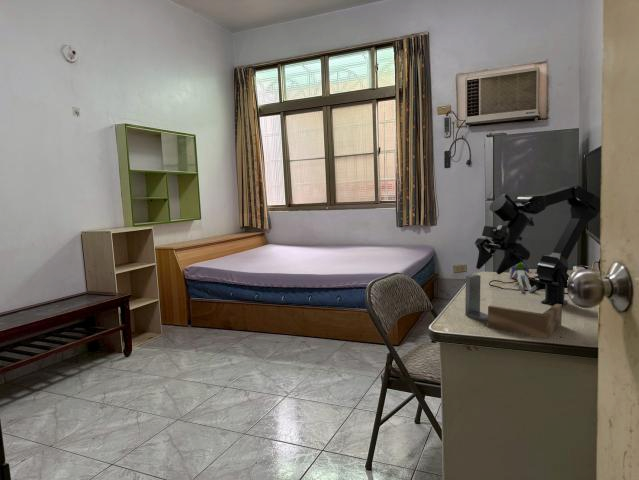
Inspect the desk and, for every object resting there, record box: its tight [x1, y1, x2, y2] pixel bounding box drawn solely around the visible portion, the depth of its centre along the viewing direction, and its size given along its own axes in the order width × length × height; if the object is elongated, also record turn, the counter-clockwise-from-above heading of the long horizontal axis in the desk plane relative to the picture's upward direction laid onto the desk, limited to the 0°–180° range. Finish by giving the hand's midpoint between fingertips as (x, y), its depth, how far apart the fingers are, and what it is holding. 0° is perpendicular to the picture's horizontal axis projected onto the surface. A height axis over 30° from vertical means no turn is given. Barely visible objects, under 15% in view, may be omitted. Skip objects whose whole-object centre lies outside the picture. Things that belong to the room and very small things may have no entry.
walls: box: [487, 304, 563, 339], centre depth 123 cm, size 14×15×6 cm
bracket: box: [465, 274, 488, 323], centre depth 131 cm, size 4×8×12 cm, turn 20°
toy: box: [508, 261, 538, 294], centre depth 174 cm, size 10×8×30 cm
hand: (487, 271), depth 136 cm, fingers open, 9 cm apart
